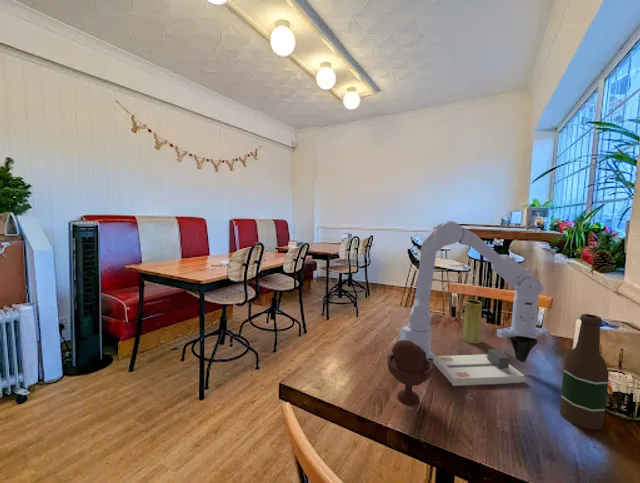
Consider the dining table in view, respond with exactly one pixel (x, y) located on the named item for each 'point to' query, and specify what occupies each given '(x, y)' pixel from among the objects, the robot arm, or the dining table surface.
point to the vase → (472, 322)
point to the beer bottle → (585, 378)
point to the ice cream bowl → (409, 369)
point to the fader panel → (475, 370)
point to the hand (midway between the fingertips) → (520, 360)
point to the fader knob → (498, 358)
